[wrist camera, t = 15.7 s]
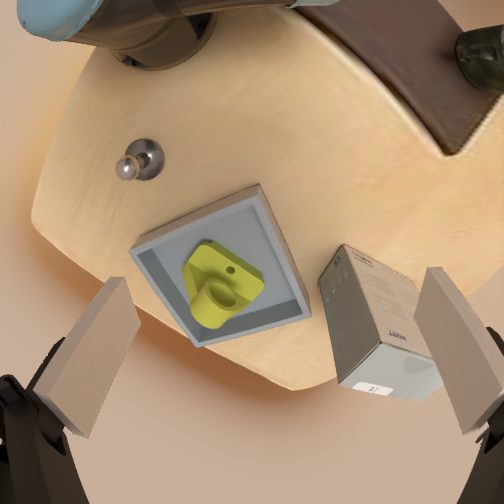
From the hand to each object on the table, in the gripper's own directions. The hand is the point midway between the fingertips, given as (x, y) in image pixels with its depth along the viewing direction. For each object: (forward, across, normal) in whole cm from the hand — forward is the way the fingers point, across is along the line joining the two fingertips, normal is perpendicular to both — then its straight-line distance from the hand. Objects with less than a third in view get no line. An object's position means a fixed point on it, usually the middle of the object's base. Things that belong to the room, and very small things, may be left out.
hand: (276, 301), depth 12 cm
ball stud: (+29, -18, +2) cm, 34 cm away
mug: (+29, +31, +18) cm, 46 cm away
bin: (+29, -8, -16) cm, 34 cm away
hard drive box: (+29, +14, -19) cm, 38 cm away
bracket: (+28, -8, -16) cm, 33 cm away
